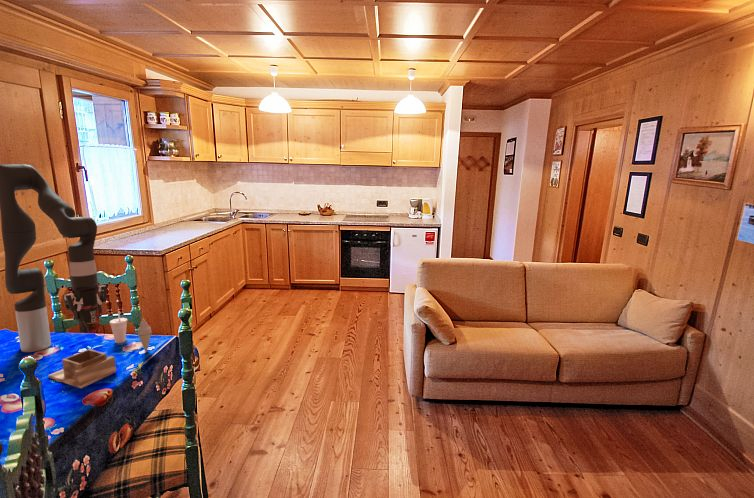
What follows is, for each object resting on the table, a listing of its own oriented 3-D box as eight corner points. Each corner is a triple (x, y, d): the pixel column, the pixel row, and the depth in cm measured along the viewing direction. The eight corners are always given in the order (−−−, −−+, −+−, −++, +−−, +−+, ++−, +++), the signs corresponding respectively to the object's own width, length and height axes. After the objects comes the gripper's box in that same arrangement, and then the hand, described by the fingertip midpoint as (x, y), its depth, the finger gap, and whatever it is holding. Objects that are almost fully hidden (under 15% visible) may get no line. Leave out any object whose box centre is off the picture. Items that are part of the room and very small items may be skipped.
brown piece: (48, 377, 131) (46, 361, 130) (85, 362, 142) (83, 348, 141) (80, 388, 125) (78, 372, 124) (116, 371, 137) (114, 356, 135)
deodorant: (91, 332, 133) (86, 292, 130) (75, 331, 133) (70, 291, 130) (104, 326, 138) (100, 288, 136) (89, 325, 139) (84, 287, 136)
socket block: (64, 376, 130) (62, 359, 129) (91, 365, 139) (89, 348, 137) (81, 382, 127) (79, 364, 126) (107, 370, 136) (106, 353, 134)
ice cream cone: (140, 349, 154) (137, 315, 151) (154, 347, 156) (151, 314, 153) (137, 354, 150) (134, 320, 147) (152, 353, 152) (149, 318, 149)
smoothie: (120, 345, 157) (117, 314, 155) (107, 343, 158) (104, 312, 156) (132, 339, 163) (130, 309, 161) (120, 337, 165) (117, 307, 162)
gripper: (68, 278, 124) (74, 325, 127) (111, 269, 137) (115, 312, 140) (53, 276, 126) (59, 322, 129) (97, 267, 140) (101, 309, 143)
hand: (88, 317), depth 135 cm, fingers closed on deodorant, 6 cm apart
